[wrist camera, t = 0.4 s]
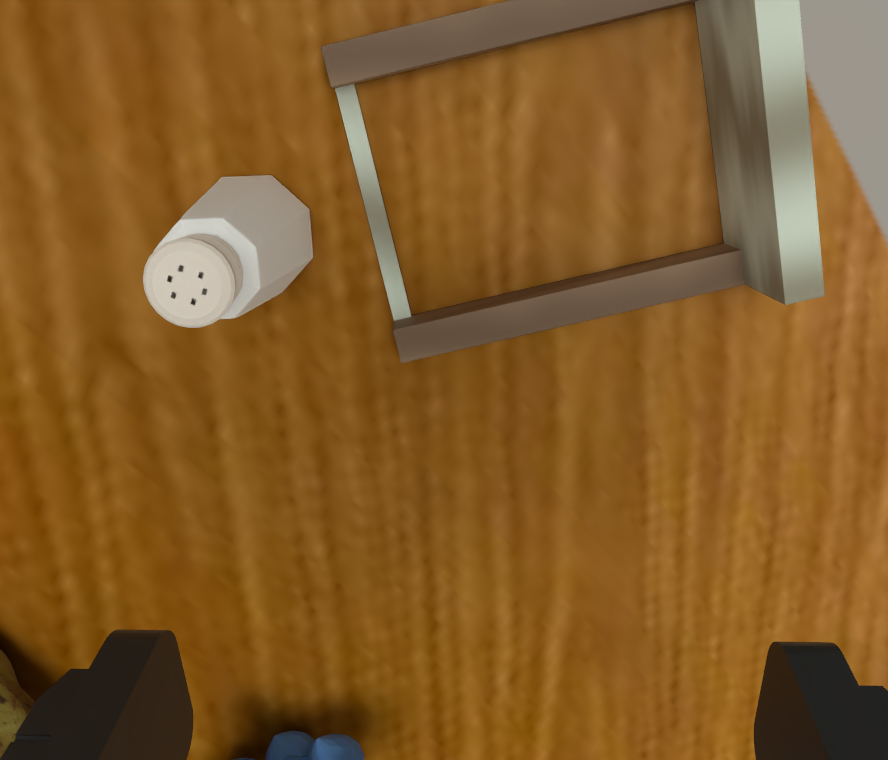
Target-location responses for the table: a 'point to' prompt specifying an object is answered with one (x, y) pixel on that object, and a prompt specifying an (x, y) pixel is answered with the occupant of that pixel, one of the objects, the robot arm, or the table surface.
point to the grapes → (312, 747)
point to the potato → (11, 703)
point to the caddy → (734, 150)
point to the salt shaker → (229, 252)
